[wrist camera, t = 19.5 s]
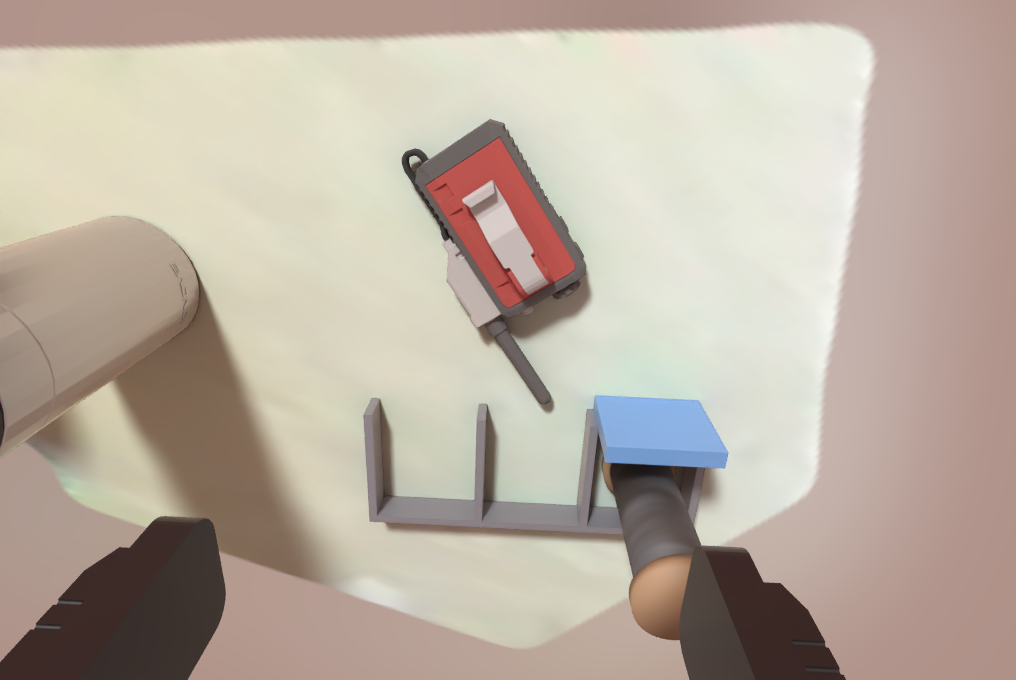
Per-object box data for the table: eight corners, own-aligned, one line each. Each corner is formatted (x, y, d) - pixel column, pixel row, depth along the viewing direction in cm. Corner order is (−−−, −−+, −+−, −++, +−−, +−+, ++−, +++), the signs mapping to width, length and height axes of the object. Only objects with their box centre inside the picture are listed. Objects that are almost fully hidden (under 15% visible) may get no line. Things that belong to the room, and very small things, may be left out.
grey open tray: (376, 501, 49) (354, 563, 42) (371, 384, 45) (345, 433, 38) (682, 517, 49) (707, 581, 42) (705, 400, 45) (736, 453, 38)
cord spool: (598, 490, 48) (626, 637, 35) (605, 430, 46) (638, 564, 33) (667, 494, 48) (720, 642, 35) (678, 434, 46) (739, 569, 33)
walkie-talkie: (378, 170, 39) (534, 400, 45) (361, 180, 35) (535, 430, 41) (491, 94, 37) (637, 345, 44) (487, 95, 33) (649, 372, 39)
